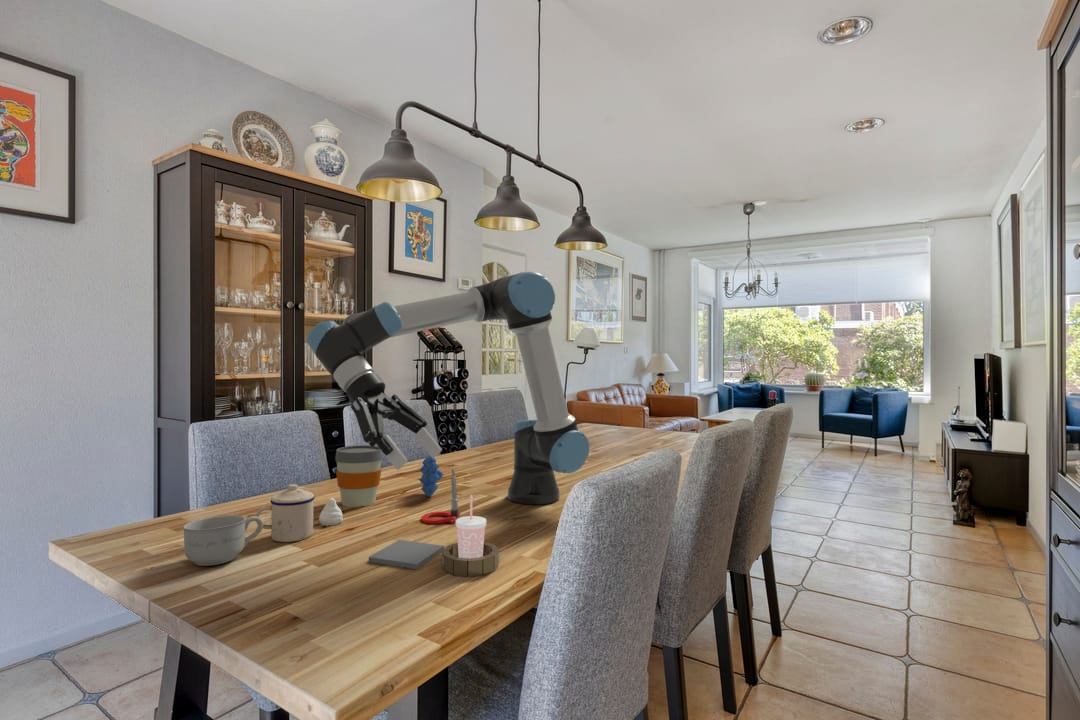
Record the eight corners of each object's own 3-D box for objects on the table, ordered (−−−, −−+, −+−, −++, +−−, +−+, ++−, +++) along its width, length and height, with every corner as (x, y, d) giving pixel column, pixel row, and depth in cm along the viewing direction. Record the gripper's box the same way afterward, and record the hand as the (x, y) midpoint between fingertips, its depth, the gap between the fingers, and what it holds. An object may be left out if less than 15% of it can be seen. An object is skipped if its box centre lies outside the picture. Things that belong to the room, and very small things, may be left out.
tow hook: (417, 525, 135) (454, 525, 135) (415, 473, 135) (453, 472, 135) (426, 516, 144) (461, 515, 143) (424, 466, 144) (459, 465, 143)
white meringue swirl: (346, 499, 135) (323, 502, 131) (346, 523, 135) (323, 528, 131) (337, 494, 139) (315, 498, 135) (337, 518, 139) (315, 522, 135)
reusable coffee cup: (363, 494, 162) (364, 443, 162) (391, 501, 155) (392, 448, 154) (325, 503, 152) (325, 449, 152) (353, 511, 144) (353, 454, 144)
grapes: (449, 499, 158) (450, 457, 158) (426, 502, 155) (427, 459, 155) (437, 490, 168) (437, 451, 168) (415, 492, 165) (416, 452, 165)
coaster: (399, 544, 121) (399, 539, 120) (444, 550, 117) (444, 545, 117) (368, 561, 110) (368, 556, 110) (416, 569, 107) (416, 564, 107)
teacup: (179, 575, 102) (180, 532, 102) (186, 555, 112) (186, 516, 112) (263, 563, 109) (263, 522, 109) (262, 545, 118) (263, 508, 118)
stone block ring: (473, 551, 117) (474, 537, 117) (509, 565, 109) (509, 550, 109) (431, 565, 109) (431, 550, 109) (466, 581, 101) (466, 565, 101)
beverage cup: (448, 568, 107) (449, 496, 107) (465, 557, 113) (466, 489, 113) (475, 573, 105) (477, 500, 105) (491, 562, 111) (492, 493, 110)
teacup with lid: (312, 528, 131) (313, 479, 131) (315, 539, 123) (316, 487, 122) (256, 534, 125) (256, 483, 125) (254, 547, 117) (255, 492, 117)
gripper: (383, 391, 129) (439, 461, 125) (307, 398, 106) (372, 483, 101) (404, 369, 128) (460, 439, 123) (331, 371, 104) (398, 457, 99)
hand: (421, 459), depth 112 cm, fingers open, 13 cm apart
